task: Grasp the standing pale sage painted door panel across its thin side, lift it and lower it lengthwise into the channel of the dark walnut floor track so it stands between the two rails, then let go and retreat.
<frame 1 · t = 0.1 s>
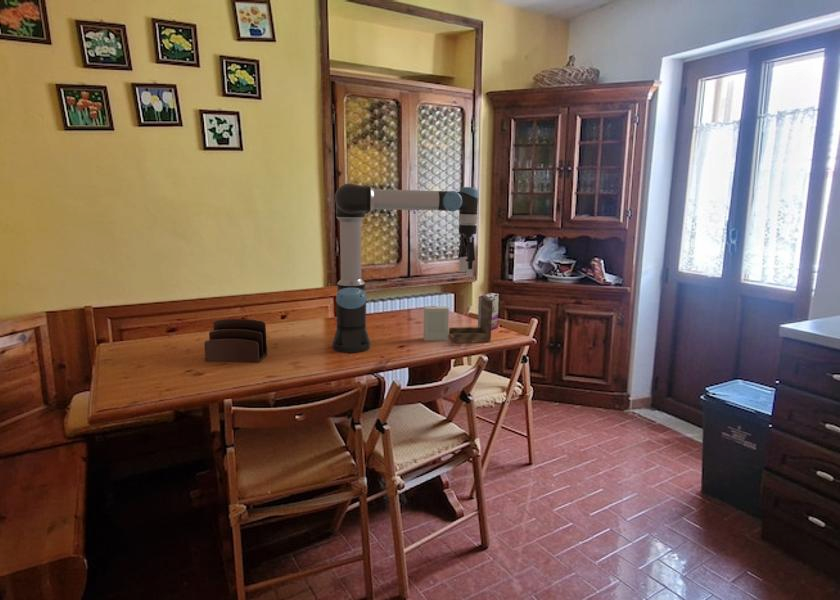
hand: (465, 274, 219), 28 cm above the table, fingers open, 13 cm apart
track: (469, 338, 221), on the table
candy bar box: (487, 329, 238), on the table
door panel: (435, 339, 219), on the table
letter holder: (237, 358, 189), on the table
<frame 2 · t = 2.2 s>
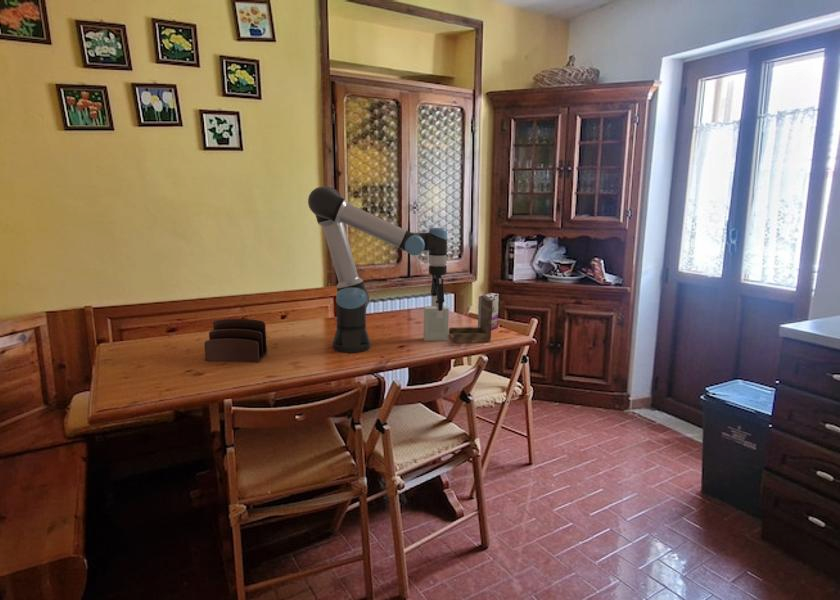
hand: (437, 314, 217), 11 cm above the table, fingers open, 13 cm apart
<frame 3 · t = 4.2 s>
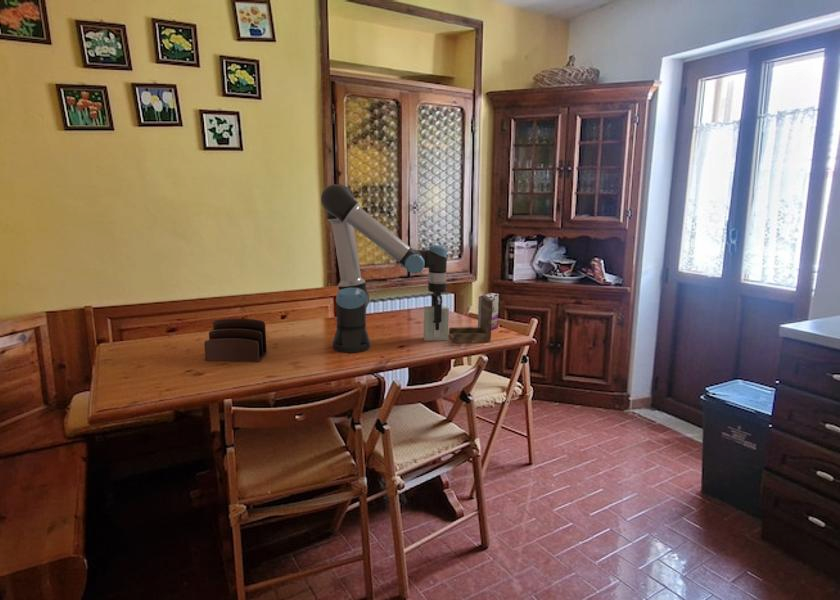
hand: (435, 335, 219), 2 cm above the table, fingers closed on door panel, 4 cm apart
door panel: (435, 339, 219), on the table, touching gripper
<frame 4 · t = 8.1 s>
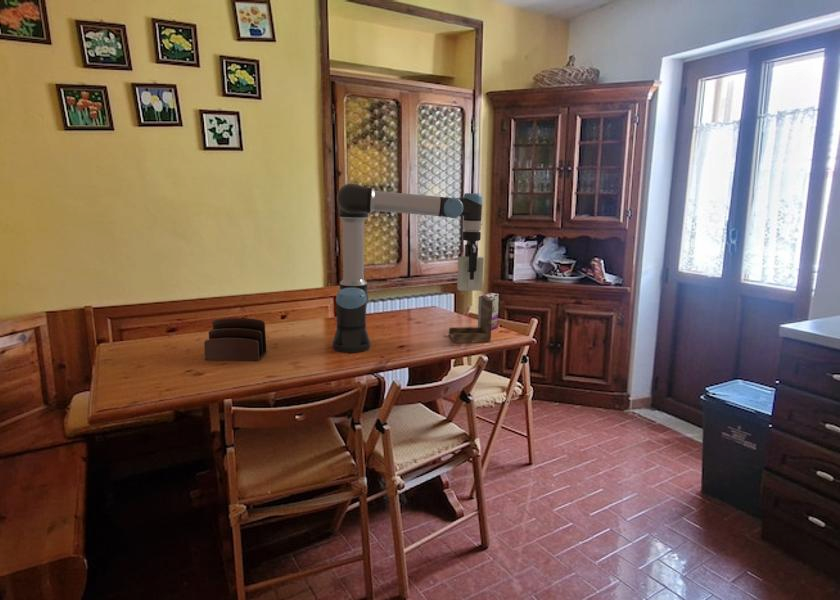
hand: (469, 285, 216), 23 cm above the table, fingers closed on door panel, 4 cm apart
door panel: (469, 289, 217), point 22 cm above the table, touching gripper
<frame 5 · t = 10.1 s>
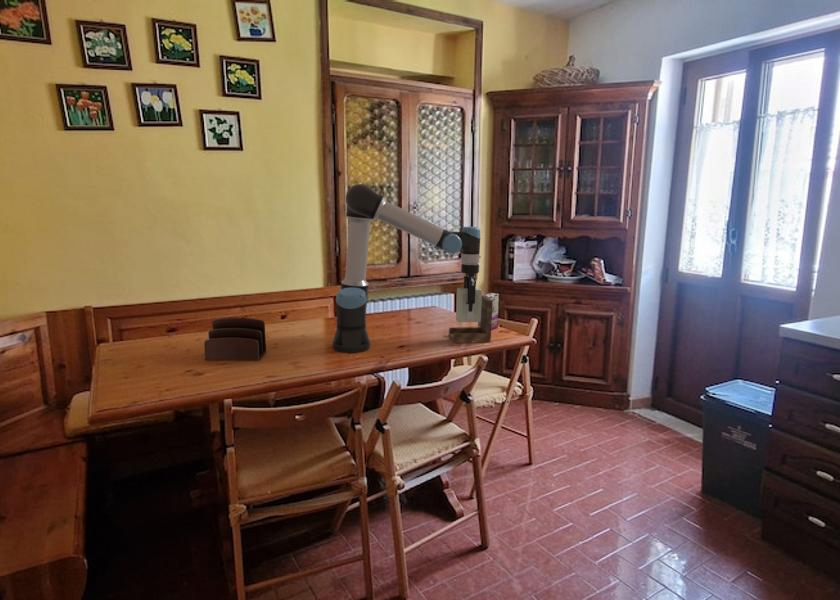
hand: (468, 317, 219), 10 cm above the table, fingers closed on door panel, 4 cm apart
door panel: (468, 320, 220), point 8 cm above the table, touching gripper
when the fingers open (5 cm above the table, at t = 11.8 s): door panel drops 2 cm, resting on track.
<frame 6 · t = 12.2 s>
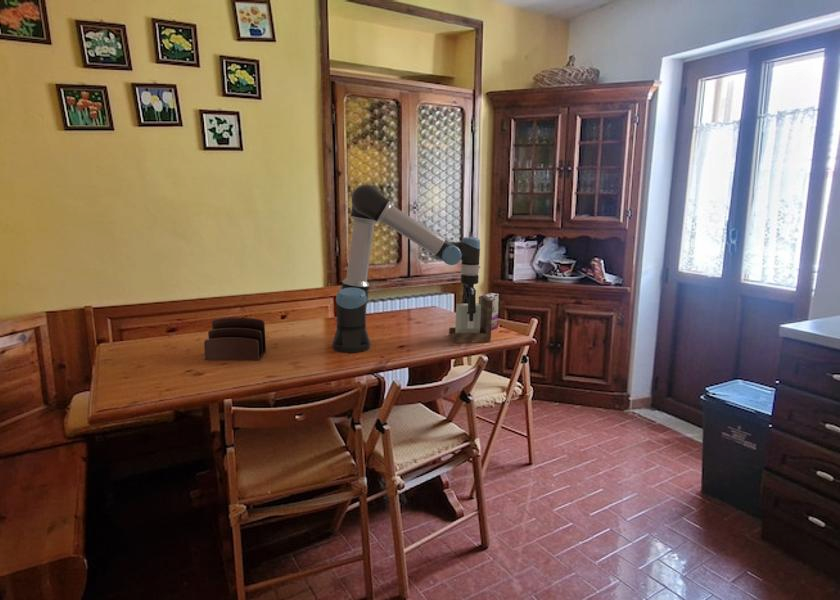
hand: (467, 325, 220), 6 cm above the table, fingers open, 9 cm apart
door panel: (467, 335, 221), point 1 cm above the table, touching track
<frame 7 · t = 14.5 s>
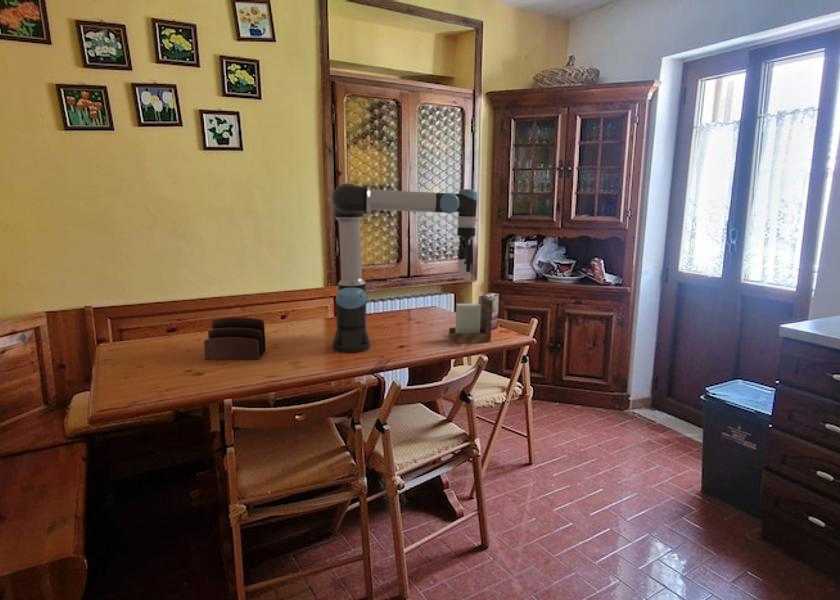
hand: (464, 276, 217), 27 cm above the table, fingers open, 13 cm apart
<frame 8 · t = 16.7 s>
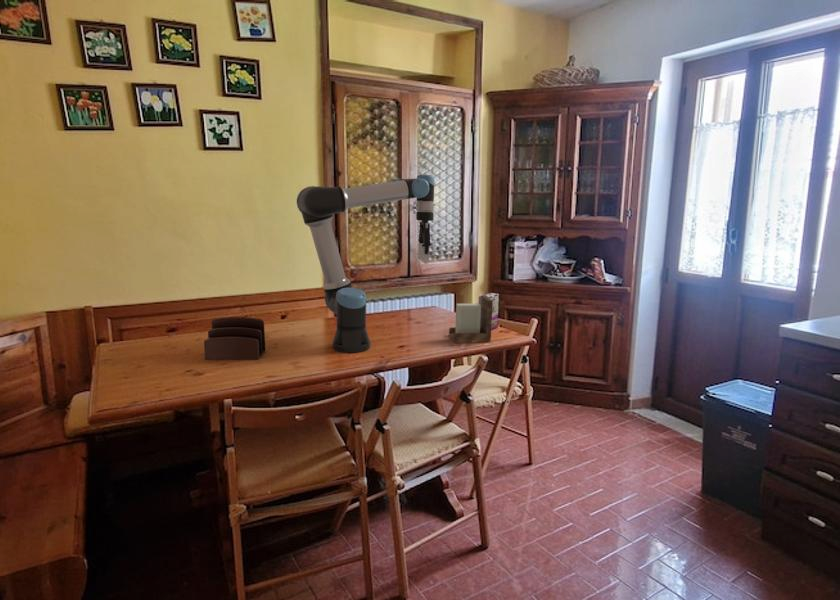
hand: (423, 259, 226), 33 cm above the table, fingers open, 13 cm apart
at the end: door panel inside the target area on the track (0.2 cm from its centre), point 1.2 cm above the track's base; door panel tilted 0°; the gripper is holding nothing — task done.
